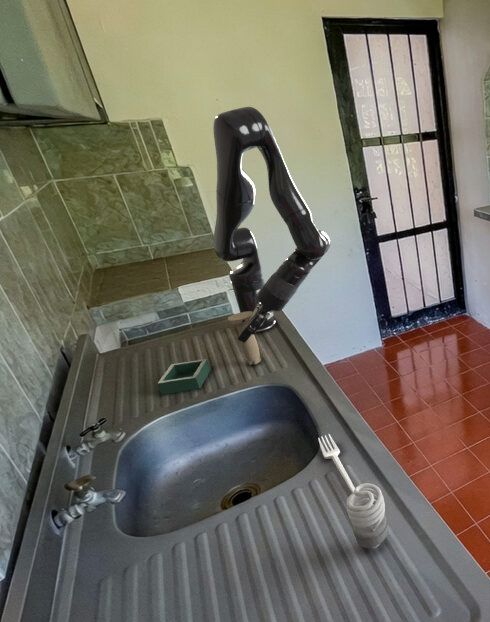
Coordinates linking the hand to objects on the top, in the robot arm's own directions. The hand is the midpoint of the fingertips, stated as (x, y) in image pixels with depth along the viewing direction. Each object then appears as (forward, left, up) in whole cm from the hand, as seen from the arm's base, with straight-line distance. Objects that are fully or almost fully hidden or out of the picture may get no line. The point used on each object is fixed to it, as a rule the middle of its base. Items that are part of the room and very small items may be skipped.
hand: (244, 333), depth 127 cm
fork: (+51, +26, -10) cm, 58 cm away
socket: (+5, -16, -10) cm, 19 cm away
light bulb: (+71, +32, -10) cm, 79 cm away
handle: (0, 0, -10) cm, 10 cm away
